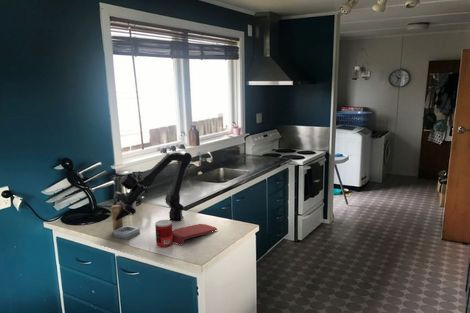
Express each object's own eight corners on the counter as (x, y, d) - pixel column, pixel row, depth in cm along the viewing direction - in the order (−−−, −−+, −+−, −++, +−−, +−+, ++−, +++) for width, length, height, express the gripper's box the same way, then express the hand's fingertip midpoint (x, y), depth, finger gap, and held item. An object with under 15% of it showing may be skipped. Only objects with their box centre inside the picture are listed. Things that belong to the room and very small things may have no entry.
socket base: (127, 230, 195) (126, 225, 194) (139, 233, 190) (139, 228, 190) (114, 236, 187) (113, 230, 186) (126, 239, 182) (126, 234, 182)
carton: (201, 232, 202) (166, 240, 182) (201, 223, 201) (167, 230, 182) (217, 237, 194) (183, 246, 175) (218, 228, 194) (184, 236, 174)
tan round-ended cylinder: (124, 228, 196) (123, 204, 193) (120, 232, 191) (118, 208, 188) (116, 227, 196) (114, 204, 194) (111, 231, 191) (109, 207, 189)
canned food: (175, 242, 179) (174, 220, 177) (167, 248, 172) (166, 226, 170) (161, 240, 182) (160, 218, 180) (153, 246, 175) (152, 224, 173)
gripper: (117, 182, 199) (98, 205, 195) (127, 189, 183) (106, 215, 180) (133, 193, 205) (114, 216, 201) (144, 202, 189) (124, 227, 185)
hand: (114, 218), depth 192 cm, fingers closed on tan round-ended cylinder, 5 cm apart
